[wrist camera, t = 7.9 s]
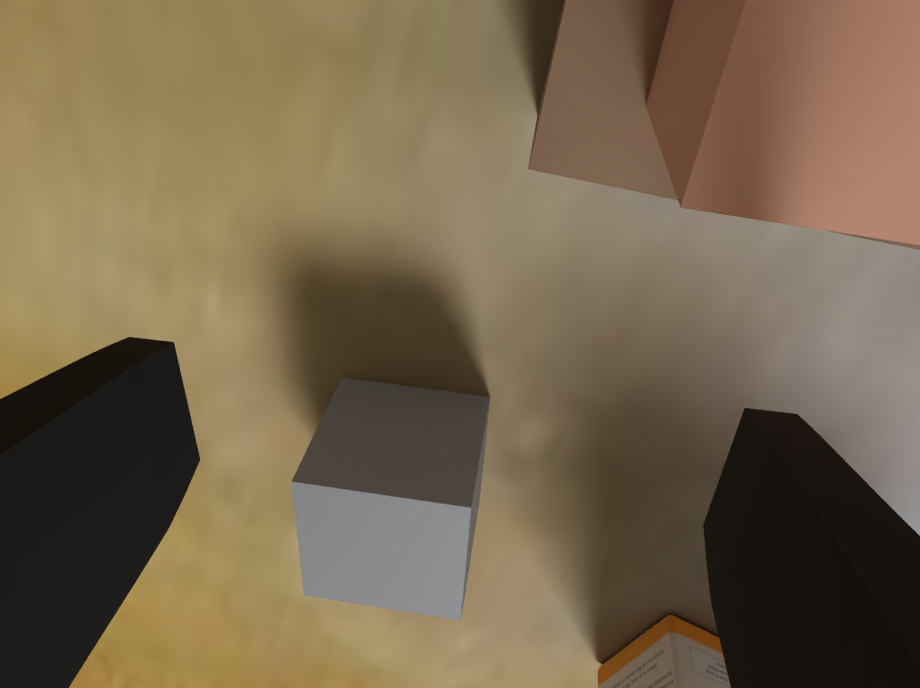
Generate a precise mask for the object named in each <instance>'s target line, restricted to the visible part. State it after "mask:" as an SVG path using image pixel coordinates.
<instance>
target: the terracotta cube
mask: <svg viewBox="0 0 920 688" xmlns="http://www.w3.org/2000/svg"><path fill="white" fill-rule="evenodd" d="M646 109H647V112H648V115H649V118H650V120H651V123H652V126H653V129H654V132H655V135H656V138H657V141H658V144H659V146H660V149H661V152H662V155H663V158H664V161H665V164H666V167H667V170H668V172H669V175H670V178H671V181H672V184H673V187H674V190H675V193H676V196H677V198H678V201H679V204H680V207H681V208H687V209H694V210H700V211H706V212H713V213H719V214H725V215H732V216H738V217H744V218H750V219H757V220H763V221H769V222H776V223H782V224H788V225H795V226H801V227H807V228H814V229H820V230H826V231H833V232H839V233H845V234H852V235H858V236H864V237H871V238H877V239H883V240H889V241H896V242H902V243H908V244H915V245H920V0H674V1H673V5H672V8H671V12H670V16H669V20H668V24H667V28H666V31H665V35H664V39H663V43H662V47H661V51H660V54H659V58H658V62H657V66H656V70H655V74H654V77H653V81H652V85H651V89H650V93H649V97H648V100H647V104H646Z"/></svg>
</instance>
